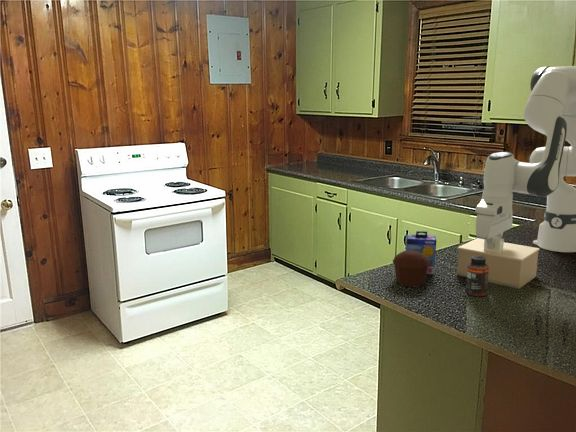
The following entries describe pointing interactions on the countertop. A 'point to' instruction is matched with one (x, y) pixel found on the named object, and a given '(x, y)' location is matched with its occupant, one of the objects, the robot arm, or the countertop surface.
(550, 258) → the countertop surface
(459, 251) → the carton
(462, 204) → the countertop surface
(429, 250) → the ink cartridge box
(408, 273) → the muffin
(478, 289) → the supplement bottle
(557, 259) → the countertop surface
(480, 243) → the carton lid
